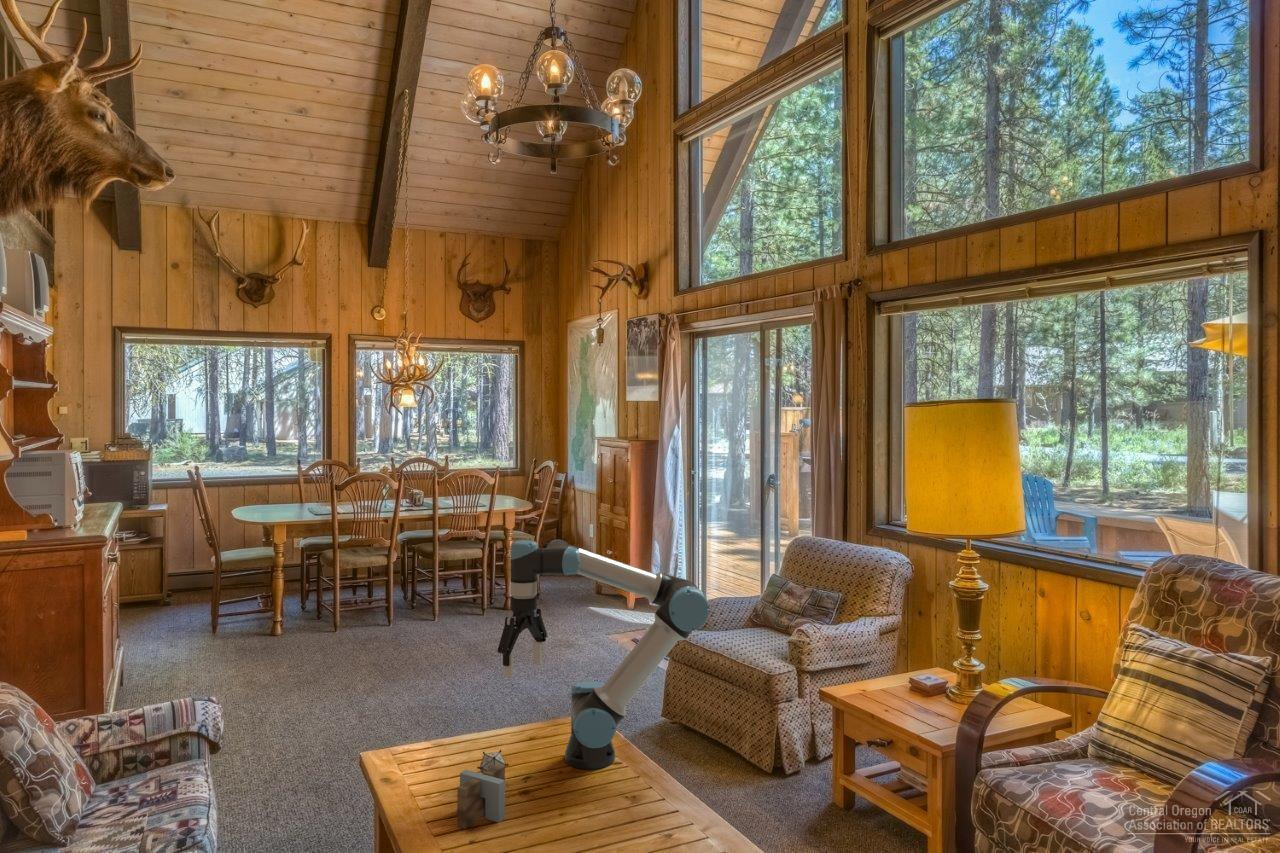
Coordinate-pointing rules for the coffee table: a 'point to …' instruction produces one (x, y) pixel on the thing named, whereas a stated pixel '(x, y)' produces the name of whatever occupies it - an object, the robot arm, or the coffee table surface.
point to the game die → (491, 761)
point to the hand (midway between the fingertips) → (523, 670)
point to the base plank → (474, 798)
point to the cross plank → (489, 793)
